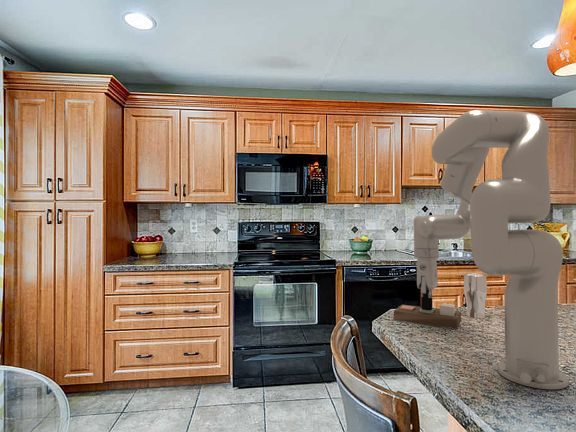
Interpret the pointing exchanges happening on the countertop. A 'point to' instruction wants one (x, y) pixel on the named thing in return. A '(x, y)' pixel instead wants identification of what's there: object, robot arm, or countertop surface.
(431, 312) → the key sage
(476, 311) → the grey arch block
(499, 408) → the countertop surface
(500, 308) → the countertop surface
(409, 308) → the key terracotta
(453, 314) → the key cream
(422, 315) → the console
